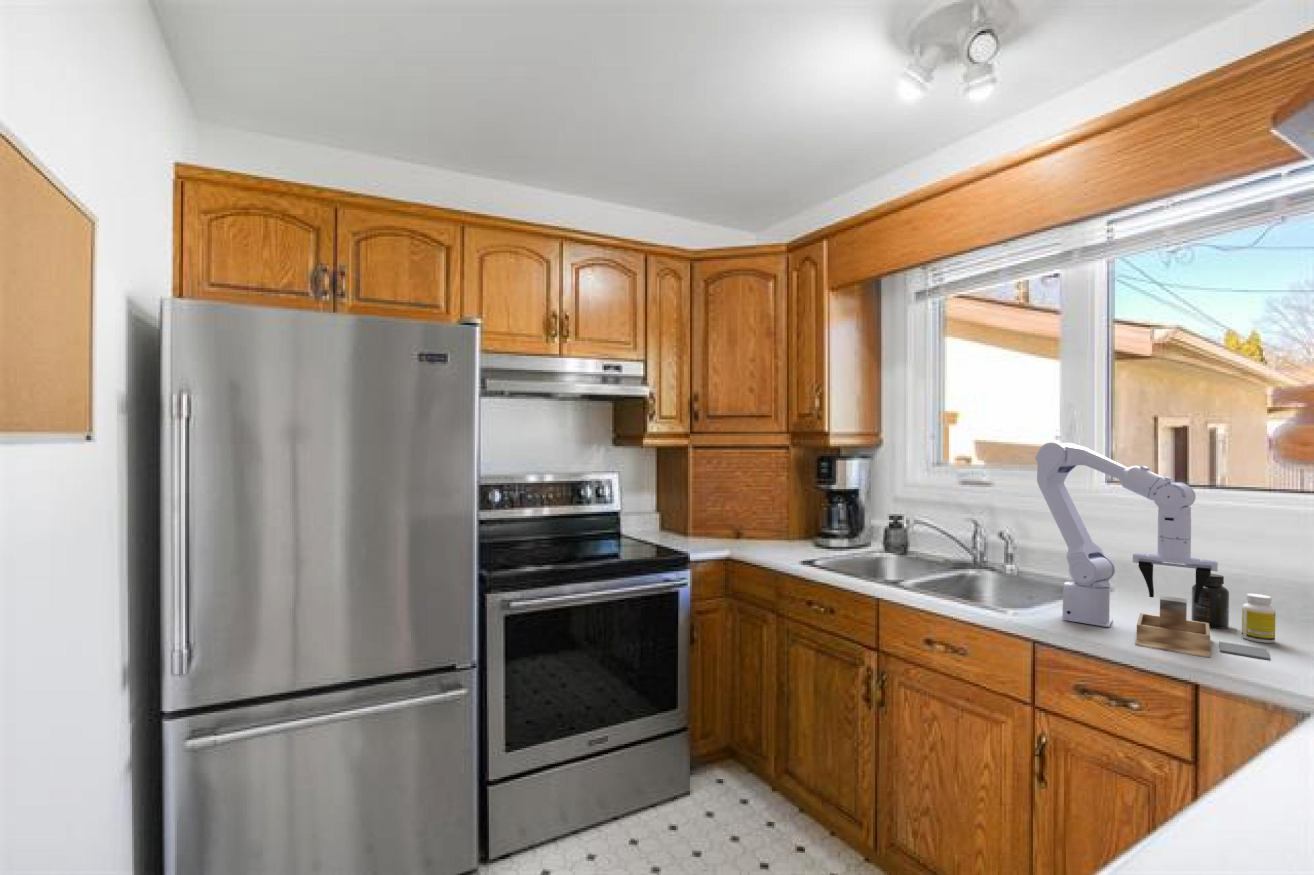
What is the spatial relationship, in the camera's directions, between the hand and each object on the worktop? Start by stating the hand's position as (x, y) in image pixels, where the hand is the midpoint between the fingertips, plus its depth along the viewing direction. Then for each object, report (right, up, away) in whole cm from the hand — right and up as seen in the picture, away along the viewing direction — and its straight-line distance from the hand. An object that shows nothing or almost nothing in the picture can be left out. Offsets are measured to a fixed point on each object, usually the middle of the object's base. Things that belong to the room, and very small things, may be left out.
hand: (1173, 599), depth 142 cm
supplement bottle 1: (+18, -9, +12) cm, 24 cm away
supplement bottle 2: (+19, -9, +1) cm, 21 cm away
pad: (+9, -9, -7) cm, 15 cm away
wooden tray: (0, -9, 0) cm, 9 cm away
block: (0, -9, 0) cm, 9 cm away
